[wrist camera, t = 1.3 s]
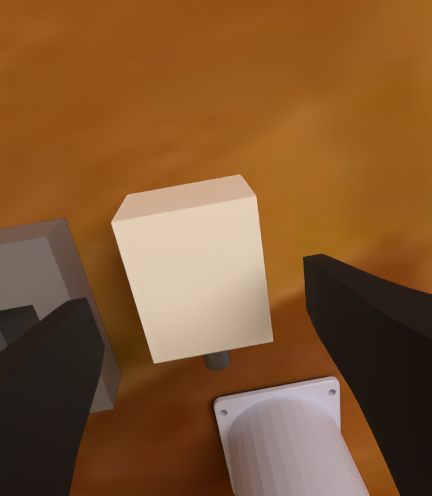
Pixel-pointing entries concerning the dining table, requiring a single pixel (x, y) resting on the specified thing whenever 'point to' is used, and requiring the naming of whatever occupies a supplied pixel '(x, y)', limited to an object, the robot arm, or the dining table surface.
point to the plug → (196, 269)
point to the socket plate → (48, 290)
